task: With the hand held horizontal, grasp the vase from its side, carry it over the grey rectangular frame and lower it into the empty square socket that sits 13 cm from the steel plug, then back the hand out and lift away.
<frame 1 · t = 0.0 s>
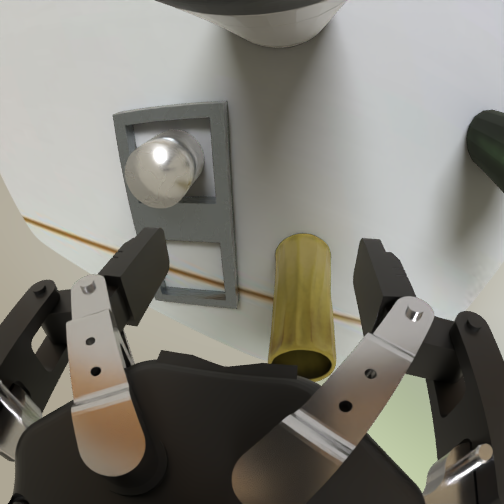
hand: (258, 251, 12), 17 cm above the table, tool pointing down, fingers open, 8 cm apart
vase: (302, 255, 33), on the table
grey rectangular frame: (183, 215, 32), on the table
potion bottle: (487, 138, 21), on the table
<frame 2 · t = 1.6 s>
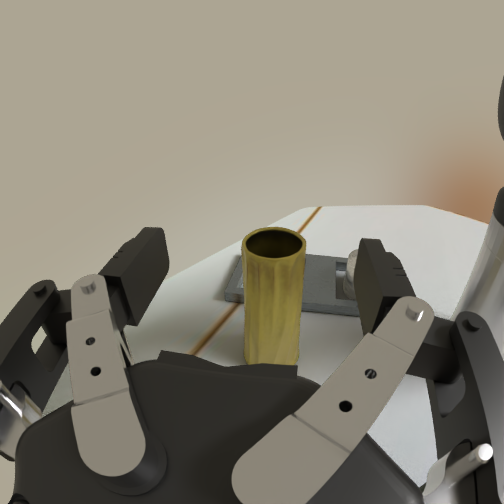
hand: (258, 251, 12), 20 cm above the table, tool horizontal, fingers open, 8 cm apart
vase: (271, 354, 32), on the table
grey rectangular frame: (318, 285, 42), on the table
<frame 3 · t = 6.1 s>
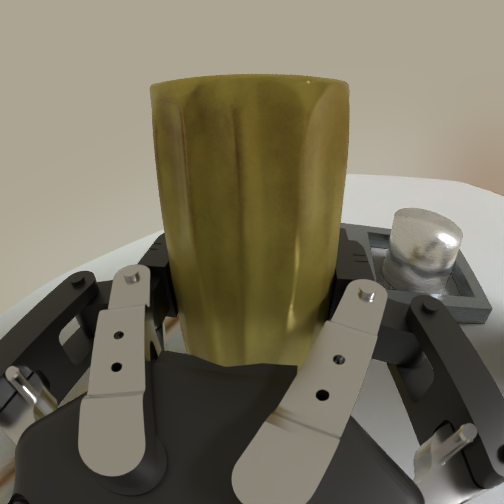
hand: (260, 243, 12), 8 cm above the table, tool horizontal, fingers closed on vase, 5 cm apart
vase: (254, 398, 15), on the table, touching gripper
grey rectangular frame: (342, 268, 24), on the table
when the fingers open (8 cm above the table, at t = 11.6 s): vase stays where it is, resting in grey rectangular frame.
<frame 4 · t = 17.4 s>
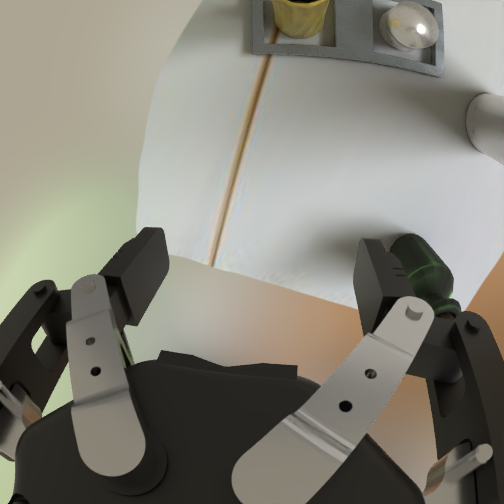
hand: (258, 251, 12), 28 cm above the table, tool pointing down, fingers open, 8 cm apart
vase: (298, 17, 27), resting in grey rectangular frame
grey rectangular frame: (352, 20, 26), on the table
potion bottle: (407, 251, 42), on the table
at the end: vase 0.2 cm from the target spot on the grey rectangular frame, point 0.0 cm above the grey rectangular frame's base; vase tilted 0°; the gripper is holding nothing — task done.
